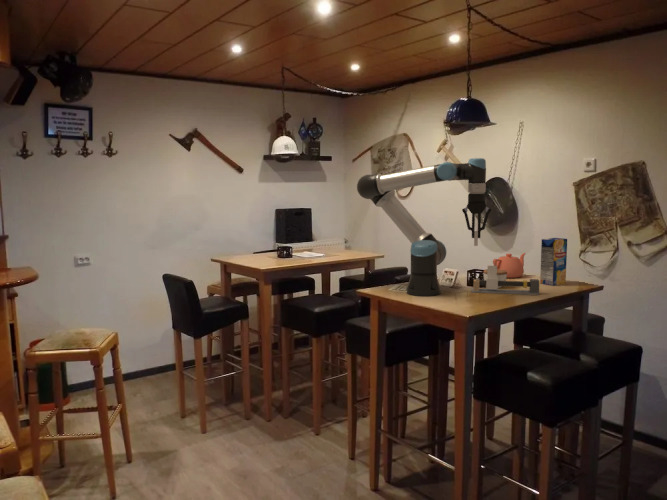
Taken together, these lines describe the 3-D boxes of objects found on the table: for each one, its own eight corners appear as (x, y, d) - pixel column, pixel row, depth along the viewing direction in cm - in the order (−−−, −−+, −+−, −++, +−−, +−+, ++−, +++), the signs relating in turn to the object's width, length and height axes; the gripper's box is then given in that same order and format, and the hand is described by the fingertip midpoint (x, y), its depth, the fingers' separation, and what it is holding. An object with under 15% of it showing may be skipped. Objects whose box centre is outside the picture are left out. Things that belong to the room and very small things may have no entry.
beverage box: (540, 283, 260) (541, 239, 257) (552, 281, 266) (554, 237, 263) (552, 285, 254) (554, 240, 251) (565, 283, 260) (567, 238, 258)
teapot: (515, 272, 293) (515, 250, 292) (535, 276, 280) (536, 253, 278) (483, 276, 284) (484, 253, 283) (503, 280, 271) (504, 256, 269)
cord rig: (471, 292, 240) (471, 279, 239) (471, 289, 247) (471, 276, 246) (539, 294, 233) (539, 281, 232) (537, 291, 240) (537, 278, 239)
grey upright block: (486, 288, 239) (486, 266, 238) (485, 286, 244) (486, 265, 243) (497, 289, 238) (498, 266, 237) (497, 287, 243) (497, 265, 241)
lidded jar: (507, 289, 247) (508, 269, 246) (484, 288, 249) (484, 268, 248) (505, 285, 257) (505, 266, 256) (482, 284, 260) (482, 265, 258)
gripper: (461, 193, 236) (461, 246, 238) (492, 193, 233) (491, 246, 235) (461, 193, 243) (461, 244, 246) (491, 192, 240) (490, 244, 243)
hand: (475, 245), depth 241 cm, fingers closed
